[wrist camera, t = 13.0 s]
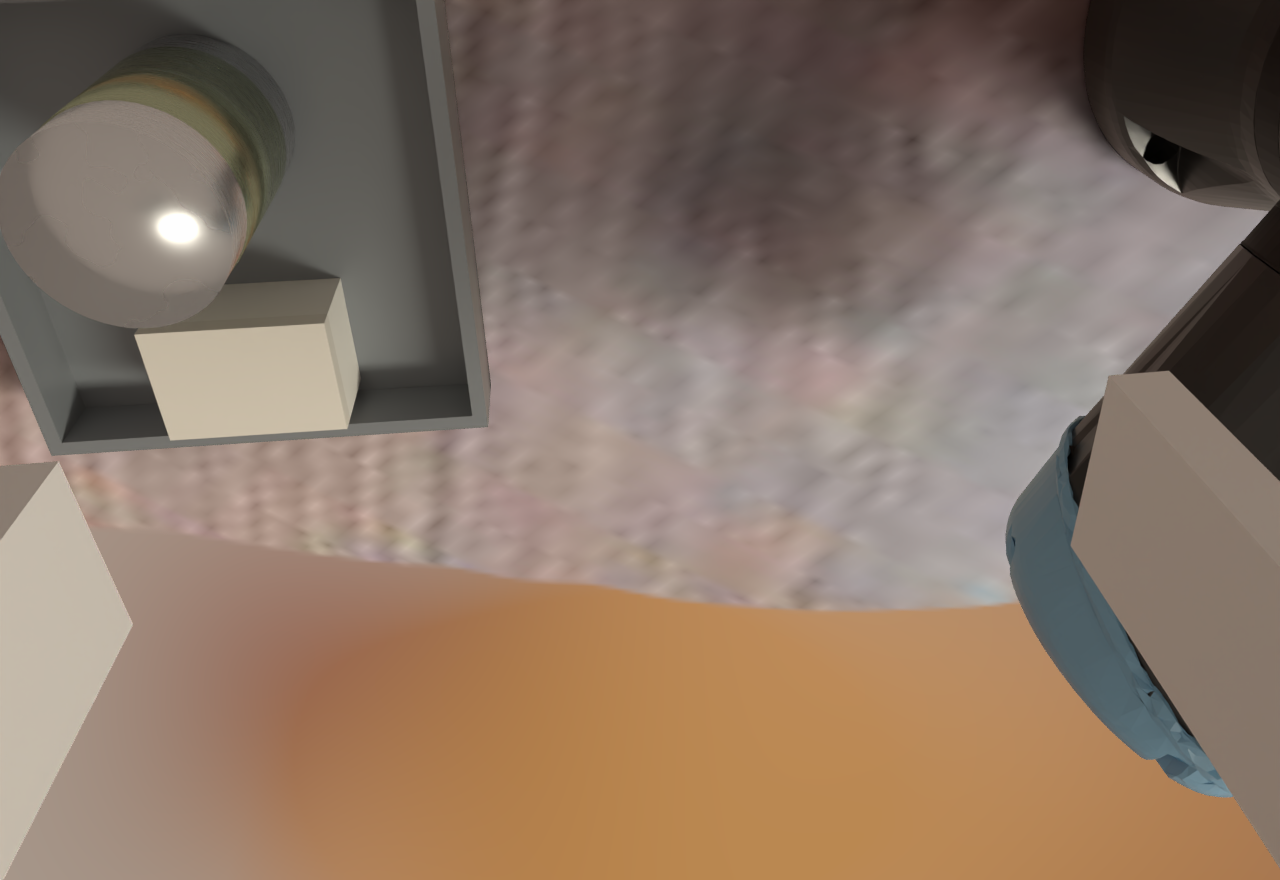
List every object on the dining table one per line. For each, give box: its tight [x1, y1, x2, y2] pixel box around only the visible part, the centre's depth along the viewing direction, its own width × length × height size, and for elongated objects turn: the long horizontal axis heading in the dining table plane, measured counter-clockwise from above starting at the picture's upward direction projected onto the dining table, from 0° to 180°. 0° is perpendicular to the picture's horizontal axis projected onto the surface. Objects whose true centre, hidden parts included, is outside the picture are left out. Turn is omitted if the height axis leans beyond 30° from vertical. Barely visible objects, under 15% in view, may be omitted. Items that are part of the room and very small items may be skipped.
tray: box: [0, 0, 491, 456], centre depth 39 cm, size 18×18×4 cm
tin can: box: [0, 34, 295, 328], centre depth 34 cm, size 6×6×10 cm
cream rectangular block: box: [134, 278, 361, 441], centre depth 41 cm, size 7×5×4 cm
